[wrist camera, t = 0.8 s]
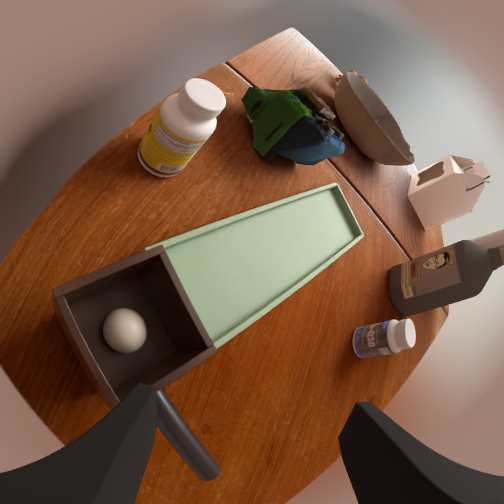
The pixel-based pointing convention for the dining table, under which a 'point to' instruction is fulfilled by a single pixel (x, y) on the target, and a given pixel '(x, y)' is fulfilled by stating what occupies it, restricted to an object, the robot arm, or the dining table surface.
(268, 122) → the sculpture
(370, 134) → the bowl
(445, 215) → the cardboard gift box
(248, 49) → the dining table surface
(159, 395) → the brown rectangular box
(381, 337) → the pill bottle
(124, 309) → the ball
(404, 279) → the liquor
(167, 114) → the supplement bottle
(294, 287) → the tray
